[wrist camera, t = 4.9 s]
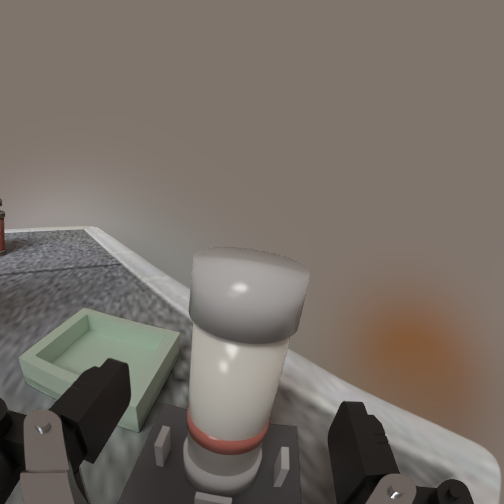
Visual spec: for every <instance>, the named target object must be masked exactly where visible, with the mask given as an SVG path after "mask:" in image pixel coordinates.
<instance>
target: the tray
mask: <svg viewBox="0 0 504 504" xmlns="http://www.w3.org/2000/svg"><path fill="white" fill-rule="evenodd" d="M179 347H180V332H175V331H171V330H166V329H162V328H158V327H154V326H150V325H146V324H142V323H138V322H134V321H130V320H126V319H122V318H119V317H115V316H111V315H108V314H104V313H101V312H98V311H94V310H91V309H87V308H83V309H82V310H80V311H79V312H77V313H76V314H75V315H73V316H72V317H71V318H69V319H68V320H67V321H65V322H64V323H63V324H61V325H60V326H59V327H57V328H56V329H55V330H53V331H52V332H51V333H49V334H48V335H47V336H45V337H44V338H43V339H41V340H40V341H39V342H37V343H36V344H35V345H34V346H32V347H31V348H30V349H28V350H27V351H26V352H25V353H23V354H22V355H21V356H20V357H18V358H19V361H20V365H21V368H22V371H23V375H24V378H25V381H26V384H28V385H30V386H32V387H34V388H35V389H37V390H39V391H41V392H43V393H45V394H47V395H49V396H51V397H52V398H54V399H56V400H58V399H59V398H60V397H61V396H62V395H63V393H64V392H65V391H66V390H67V389H68V388H69V387H71V385H72V384H73V383H74V381H77V378H78V377H79V376H80V375H81V374H82V373H83V372H84V371H85V370H87V369H89V368H91V367H93V366H97V367H100V366H101V365H102V364H103V363H104V362H105V361H106V360H107V359H108V358H112V359H115V360H119V361H122V362H125V363H127V364H128V366H129V374H130V385H131V400H130V404H129V406H128V408H127V410H126V411H125V413H124V414H123V416H122V418H121V419H120V421H119V423H118V424H117V425H118V426H120V427H123V428H126V429H129V430H132V431H135V432H138V433H139V432H140V430H141V428H142V426H143V424H144V422H145V421H146V419H147V417H148V415H149V413H150V411H151V409H152V407H153V405H154V403H155V401H156V399H157V397H158V395H159V393H160V391H161V390H162V388H163V386H164V384H165V382H166V380H167V378H168V376H169V374H170V372H171V370H172V369H173V367H174V365H175V363H176V361H177V359H178V357H179Z"/></svg>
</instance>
